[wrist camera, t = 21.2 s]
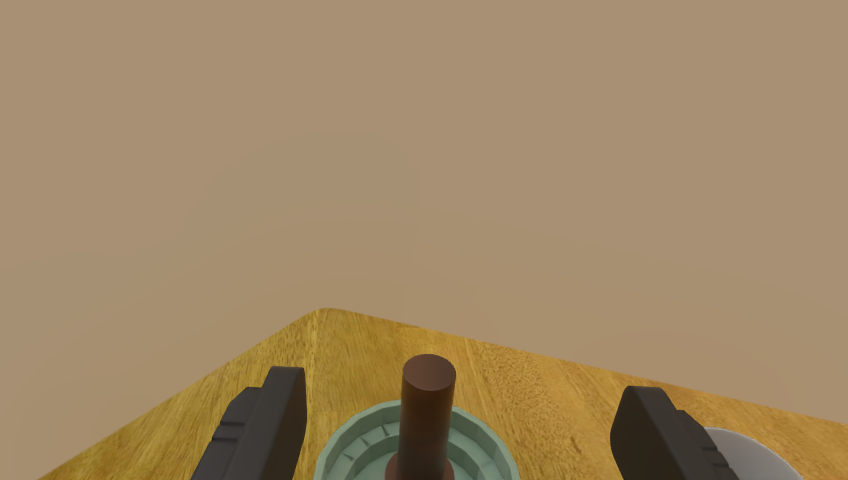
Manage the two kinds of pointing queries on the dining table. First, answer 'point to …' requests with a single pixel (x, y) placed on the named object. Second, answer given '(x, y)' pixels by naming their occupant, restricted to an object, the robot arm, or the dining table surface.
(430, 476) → the pestle
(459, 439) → the bowl
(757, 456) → the cup
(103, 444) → the dining table surface
